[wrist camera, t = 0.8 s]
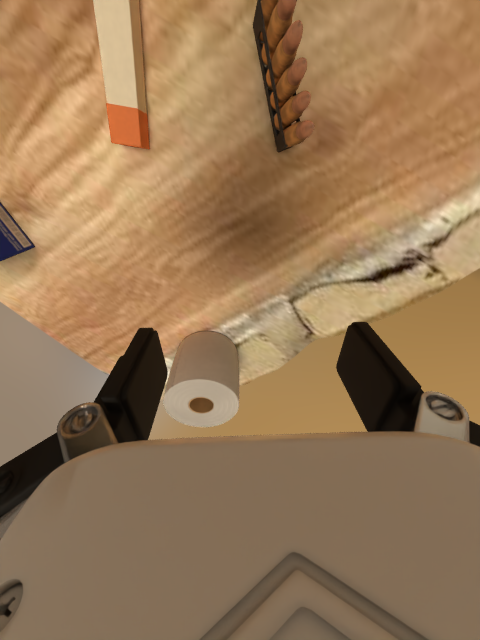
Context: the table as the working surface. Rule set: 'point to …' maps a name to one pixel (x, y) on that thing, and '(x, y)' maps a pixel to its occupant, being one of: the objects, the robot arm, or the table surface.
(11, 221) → the milk carton
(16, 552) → the robot arm
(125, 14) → the rectangular block
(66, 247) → the table surface
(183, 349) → the toilet paper roll
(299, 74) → the ammunition clip
